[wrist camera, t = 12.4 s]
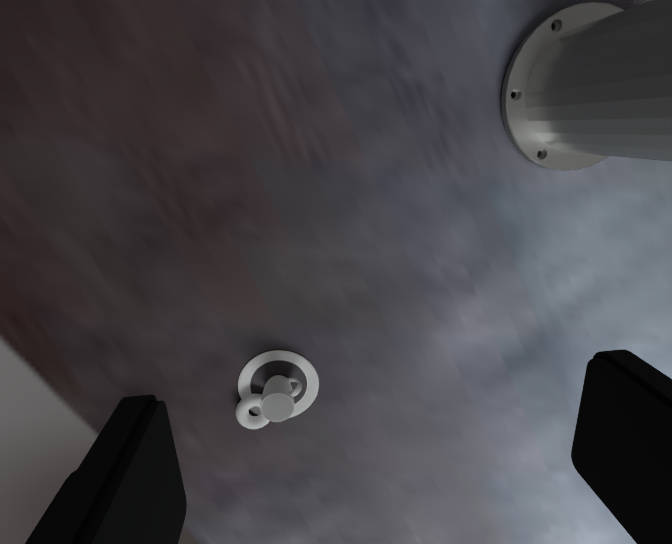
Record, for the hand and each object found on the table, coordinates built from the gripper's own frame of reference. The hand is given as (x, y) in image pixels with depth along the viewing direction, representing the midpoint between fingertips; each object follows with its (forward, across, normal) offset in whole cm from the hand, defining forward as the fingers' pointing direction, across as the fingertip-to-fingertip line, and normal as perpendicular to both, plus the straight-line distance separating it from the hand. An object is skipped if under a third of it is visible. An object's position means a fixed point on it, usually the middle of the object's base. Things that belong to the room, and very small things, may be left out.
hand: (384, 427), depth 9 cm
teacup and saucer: (+29, +8, +17) cm, 34 cm away
